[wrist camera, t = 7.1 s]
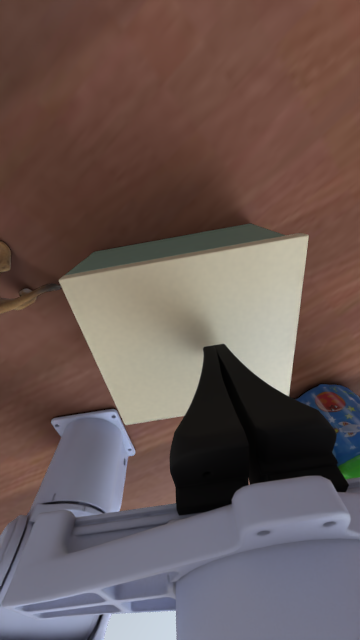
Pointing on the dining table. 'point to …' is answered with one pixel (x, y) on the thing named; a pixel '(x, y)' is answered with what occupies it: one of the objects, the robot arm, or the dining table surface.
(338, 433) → the snack cup
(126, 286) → the lid
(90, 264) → the box
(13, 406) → the dining table surface
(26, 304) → the lion figurine
